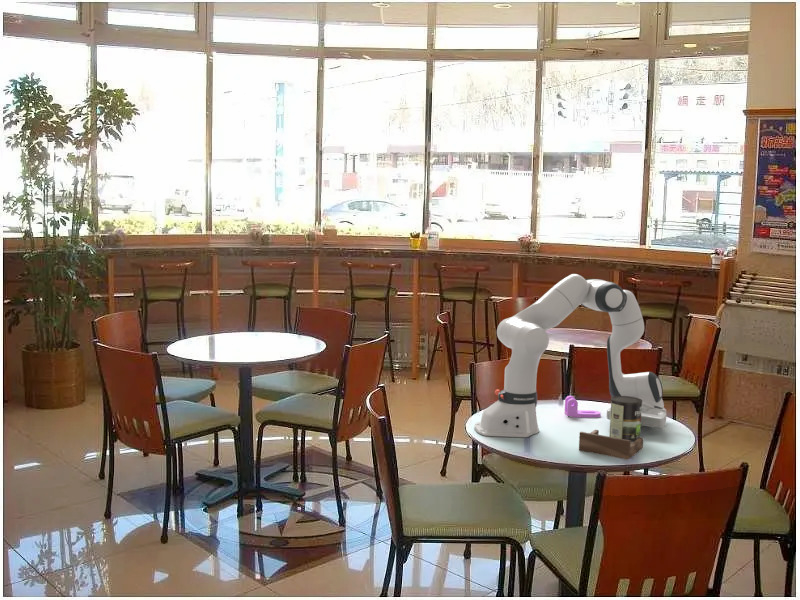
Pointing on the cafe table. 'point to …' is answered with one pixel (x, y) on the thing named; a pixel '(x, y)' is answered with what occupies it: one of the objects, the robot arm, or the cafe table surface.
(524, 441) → the cafe table surface
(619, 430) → the coffee can
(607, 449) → the box
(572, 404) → the bracket
